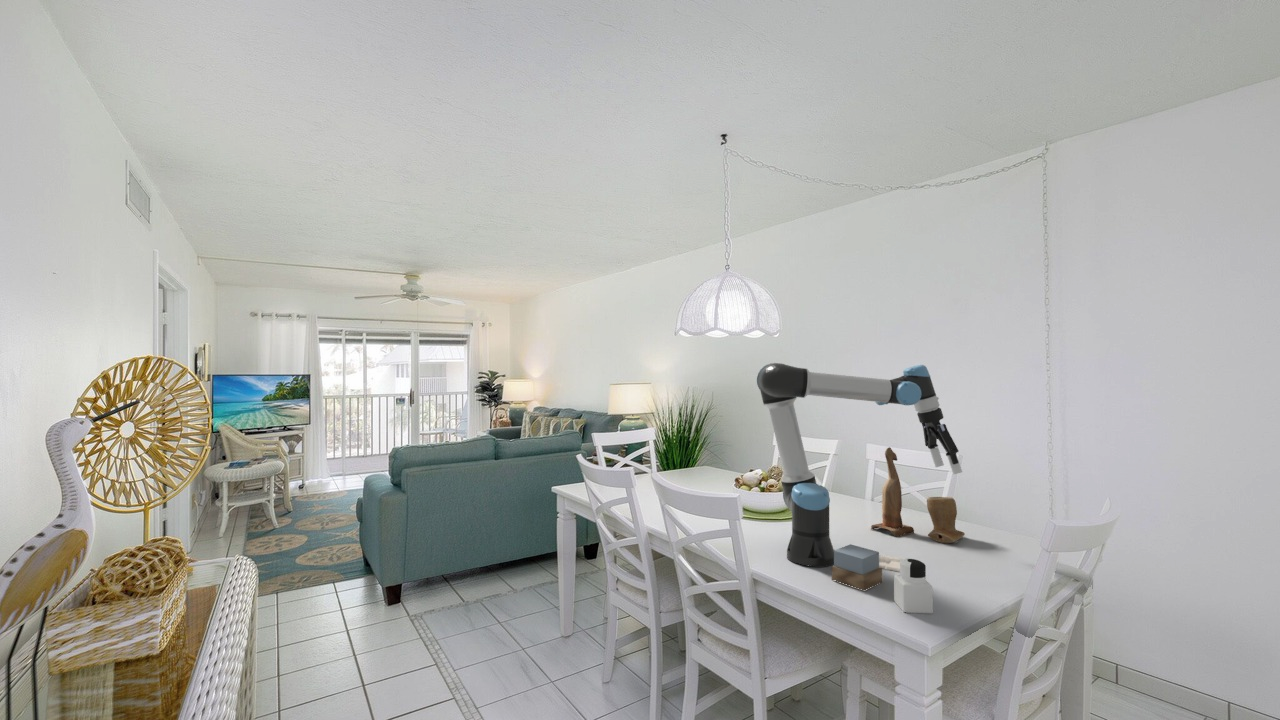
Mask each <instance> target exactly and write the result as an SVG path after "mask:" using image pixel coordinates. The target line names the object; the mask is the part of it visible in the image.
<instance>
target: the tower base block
mask: <svg viewBox="0 0 1280 720" xmlns="http://www.w3.org/2000/svg"><path fill="white" fill-rule="evenodd" d="M832 580H836V581H838V582H841V583H844V584H847V585H850V586H853V587H856V588H859V589H862V590H866V589H868V588H870V587H872V586H874V587H876V586H878V585H880V584H882V583H883V569H882V568H880V567H879V568H877V569H875V570H873V571H871V572H868V573H866V574H864V575H861V574H858V573H855V572H852V571H848V570H845V569H842V568H839V567H836V566H834V565H831V581H832ZM879 583H880V584H879ZM877 584H878V585H877ZM875 585H876V586H875ZM856 588H855V589H856ZM872 588H873V587H872ZM859 589H858V590H859ZM870 589H871V588H870ZM862 590H861V591H862ZM868 590H869V589H868ZM866 591H867V590H866Z"/></svg>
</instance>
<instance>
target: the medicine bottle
mask: <svg viewBox="0 0 1280 720" xmlns="http://www.w3.org/2000/svg"><path fill="white" fill-rule="evenodd" d="M926 567H927V566H926V564H925V563H924V562H922V561H921V560H918V559H914V558H904V560H901V561H900V572H899V574H894V575H893V599H894V600H893V601H894V603H896V604H897V606H898V607H899V608H900V609H901V611H902V612H903V613H905V612H906V613H909V614H911V613H912V614H933V605H934V604H933V603H934V602H933V599H934V598H933V585H932V584H931V583H930V582H929V581H928V580H926V579H927V575H926Z"/></svg>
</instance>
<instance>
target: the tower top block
mask: <svg viewBox="0 0 1280 720" xmlns="http://www.w3.org/2000/svg"><path fill="white" fill-rule="evenodd" d="M879 555H880V551H878V550H877V551H876V550H873V549H869V548H865V547H862V546H859V545H854V544H851V543H850V544H847V545H845V546H842V547H840V548H837V549H834V564H833V566H836V567H839V568H842V569H845V570H848V571H852V572H855V573H858V574H861V575H864V574H866V573H868V572H871V571H873V570H875V569H877V568H879Z"/></svg>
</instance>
